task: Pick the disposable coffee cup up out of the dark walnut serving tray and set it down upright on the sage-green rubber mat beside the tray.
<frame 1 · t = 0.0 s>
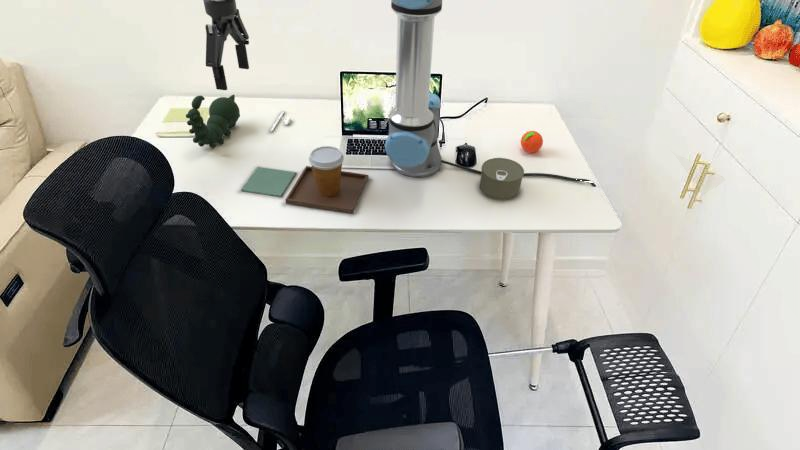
hand: (233, 78, 145), 28 cm above the table, tool pointing down, fingers open, 13 cm apart
picture light: (282, 123, 184), on the table
toy figurine: (220, 137, 176), on the table
clementine: (528, 152, 174), on the table
tray: (328, 190, 154), on the table
disposable coffee cup: (328, 190, 154), resting on tray
mat: (269, 182, 157), on the table
can: (499, 189, 158), on the table
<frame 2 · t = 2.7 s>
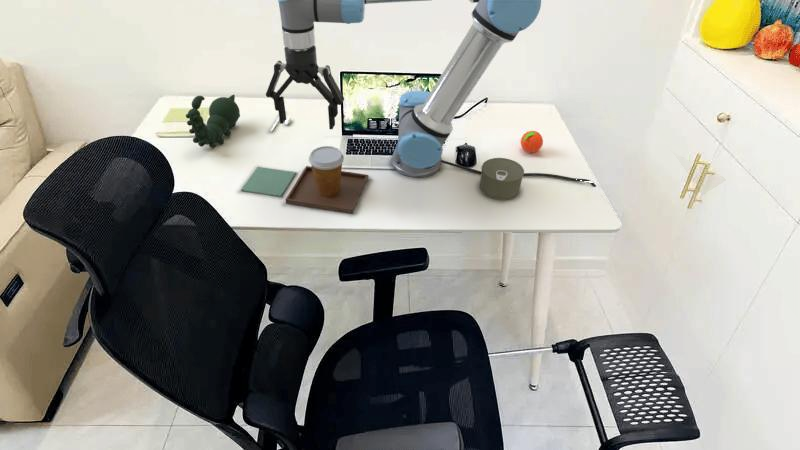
hand: (307, 124, 143), 20 cm above the table, tool pointing down, fingers open, 13 cm apart
nothing on the table moved.
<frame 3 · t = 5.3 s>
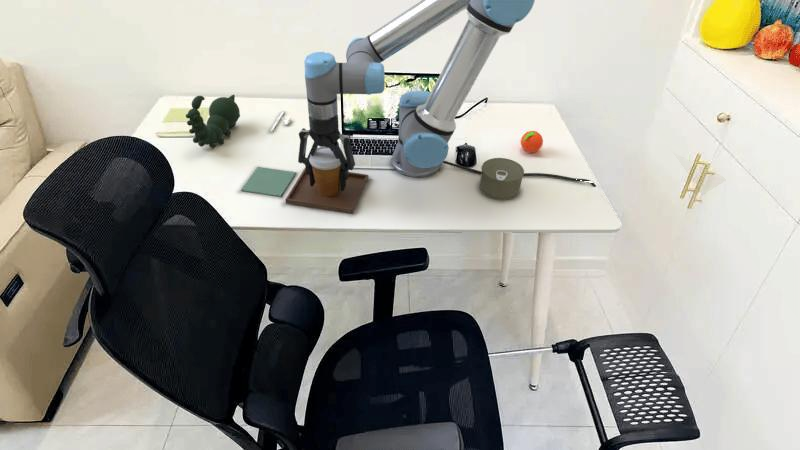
hand: (328, 185, 153), 2 cm above the table, tool pointing down, fingers closed on disposable coffee cup, 8 cm apart
disposable coffee cup: (328, 190, 154), resting on tray, touching gripper
everything else where it was.
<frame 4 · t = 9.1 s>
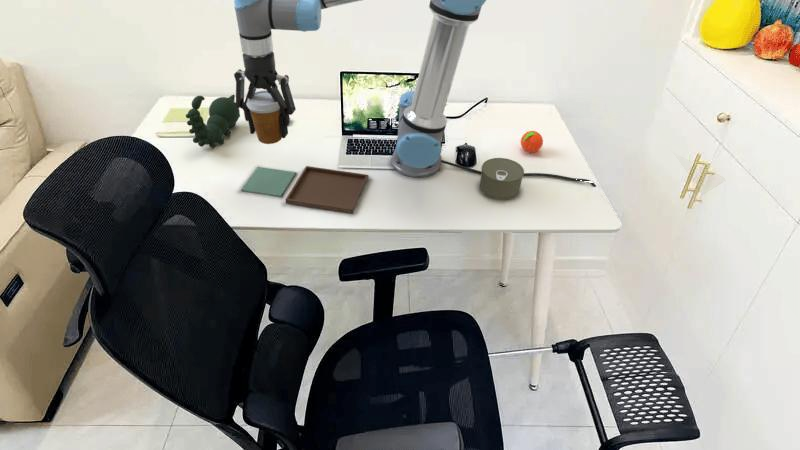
hand: (269, 133, 146), 17 cm above the table, tool pointing down, fingers closed on disposable coffee cup, 8 cm apart
disposable coffee cup: (270, 138, 147), point 15 cm above the table, touching gripper
everything else where it was.
when the fingers open (2 cm above the table, at t = 12.8 s): disposable coffee cup stays where it is, resting on mat.
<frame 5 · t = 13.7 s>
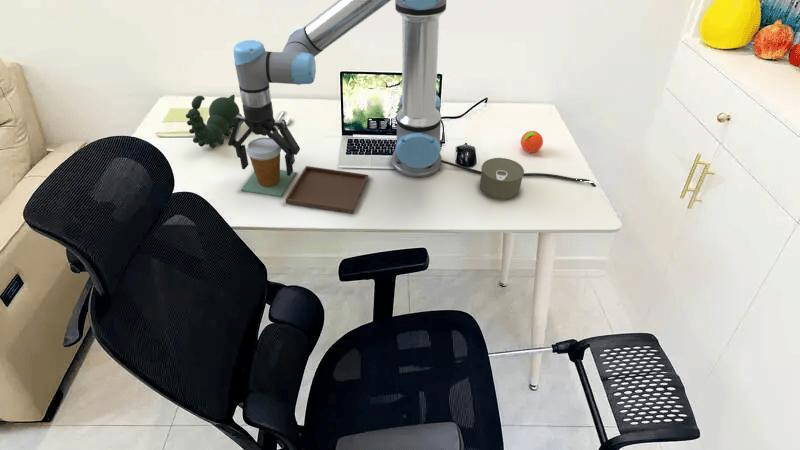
hand: (267, 170, 154), 4 cm above the table, tool pointing down, fingers open, 13 cm apart
disposable coffee cup: (269, 181, 157), resting on mat
everything else where it was.
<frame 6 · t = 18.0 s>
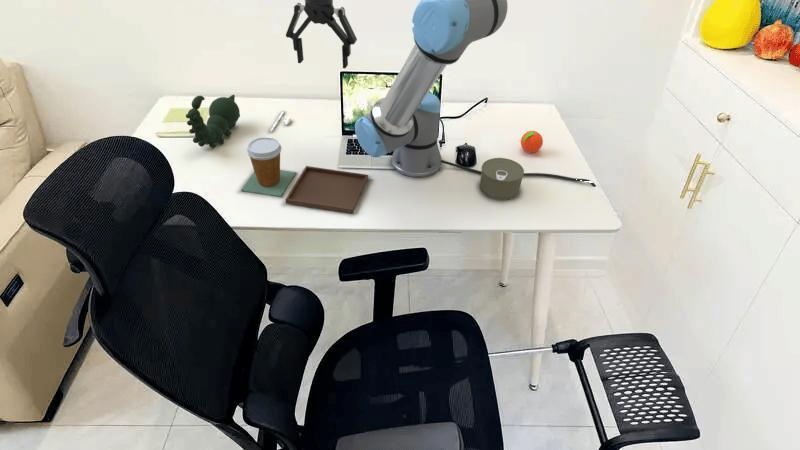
hand: (323, 64, 157), 27 cm above the table, tool pointing down, fingers open, 13 cm apart
nothing on the table moved.
at the end: disposable coffee cup inside the target area on the mat (0.0 cm from its centre), point 0.3 cm above the mat's base; disposable coffee cup tilted 0°; disposable coffee cup touching mat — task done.
